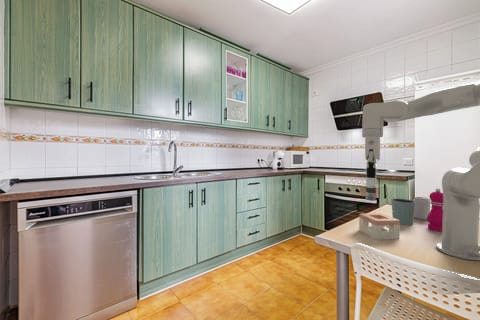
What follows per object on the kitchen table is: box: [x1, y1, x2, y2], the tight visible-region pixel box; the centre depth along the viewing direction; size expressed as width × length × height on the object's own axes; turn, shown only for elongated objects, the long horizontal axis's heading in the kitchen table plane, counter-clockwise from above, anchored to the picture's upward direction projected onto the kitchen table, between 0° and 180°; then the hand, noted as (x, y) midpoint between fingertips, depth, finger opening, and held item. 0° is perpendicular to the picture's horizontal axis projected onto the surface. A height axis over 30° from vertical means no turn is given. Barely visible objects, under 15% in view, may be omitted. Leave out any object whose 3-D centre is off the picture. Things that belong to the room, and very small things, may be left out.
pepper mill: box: [426, 188, 443, 233], centre depth 106 cm, size 7×7×20 cm
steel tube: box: [365, 161, 378, 202], centre depth 92 cm, size 4×4×16 cm
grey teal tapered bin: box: [391, 198, 415, 226], centre depth 116 cm, size 10×10×12 cm
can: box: [412, 196, 431, 221], centre depth 123 cm, size 8×8×12 cm
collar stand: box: [358, 212, 401, 240], centre depth 99 cm, size 11×11×8 cm
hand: (371, 176), depth 92 cm, fingers closed on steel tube, 3 cm apart
